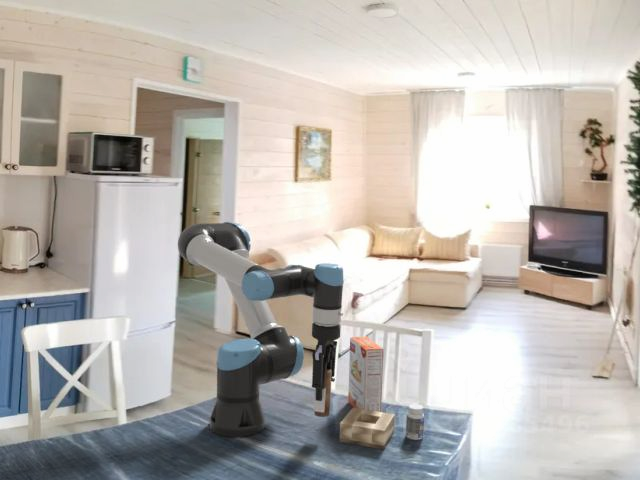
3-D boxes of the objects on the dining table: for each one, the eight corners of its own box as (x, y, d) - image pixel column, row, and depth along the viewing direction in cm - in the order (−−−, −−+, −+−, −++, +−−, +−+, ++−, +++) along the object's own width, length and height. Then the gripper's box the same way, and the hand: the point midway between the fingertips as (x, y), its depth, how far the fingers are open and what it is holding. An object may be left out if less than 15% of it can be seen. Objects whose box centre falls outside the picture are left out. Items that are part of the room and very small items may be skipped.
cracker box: (346, 402, 185) (349, 336, 183) (364, 400, 187) (367, 335, 185) (362, 419, 172) (365, 349, 170) (381, 418, 173) (384, 348, 171)
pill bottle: (422, 441, 159) (424, 410, 158) (405, 439, 160) (406, 408, 159) (423, 433, 163) (425, 404, 162) (406, 431, 164) (407, 402, 163)
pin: (312, 415, 158) (314, 371, 157) (317, 409, 162) (319, 367, 160) (326, 418, 157) (328, 374, 155) (331, 412, 160) (333, 369, 159)
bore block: (339, 441, 157) (340, 423, 156) (352, 424, 168) (353, 407, 168) (383, 449, 153) (384, 430, 152) (394, 431, 164) (394, 414, 164)
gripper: (329, 332, 147) (324, 422, 150) (349, 317, 163) (344, 399, 166) (301, 328, 150) (297, 417, 152) (323, 314, 166) (319, 395, 168)
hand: (322, 407), depth 159 cm, fingers closed on pin, 4 cm apart
